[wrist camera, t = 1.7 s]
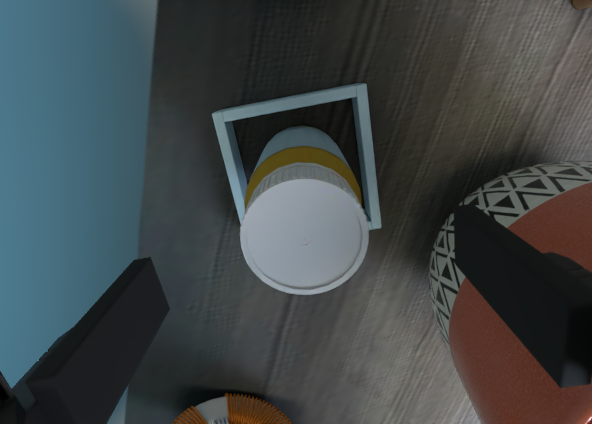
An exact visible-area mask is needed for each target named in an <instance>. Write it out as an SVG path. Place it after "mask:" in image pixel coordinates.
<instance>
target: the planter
mask: <svg viewBox="0 0 592 424" xmlns="http://www.w3.org/2000/svg"><path fill="white" fill-rule="evenodd" d="M466 204H474V205H475V206H477V207H478V208H479V209H481V210H482V211H484V212H485V213H486V214H488V215H489V216H491V217H492V218H493V219H495V220H496V221H498V222H499V223H500V224H502V225H503V226H505V227H506V228H507V229H509V230H510V231H512V232H513V233H515V234H516V235H517V236H519V237H520V238H522V239H523V240H524V241H526V242H527V243H529V244H530V245H531V246H533V247H534V248H536V249H537V250H538V251H540V252H541V253H547V252H554V253H557V254H560V255H563V256H565V257H568V258H571V259H572V260H574V261H575V262H577V263H578V264H580V265H581V266H583V268H584V269H587V270H589V271H590V272H592V161H566V162H554V163H545V164H539V165H534V166H530V167H525V168H521V169H518V170H515V171H512V172H509V173H507V174H504V175H502V176H500V177H498V178H495V179H494V180H492V181H490V182H488V183H486V184H485V185H483V186H481V187H480V188H478V189H477V190H476V191H474V192H473V193H471V194H470V195H469V196H468V197H467V198H465V199H464V200H463V201H462V202H461V203H460V204H459V205H458V206H460V205H466ZM429 289H430V297H431V303H432V308H433V312H434V316H435V320H436V323H437V325H438V328H439V331H440V334H441V336H442V339H443V341H444V343H445V345H446V348H447V350H448V352H449V354H450V357H451V359H452V361H453V363H454V366H455V368H456V370H457V372H458V375H459V377H460V379H461V381H462V384H463V386H464V388H465V390H466V392H467V394H468V396H469V398H470V401H471V403H472V405H473V407H474V409H475V411H476V413H477V415H478V418H479V420H480V422H481V424H592V377H591V384H588V385H581V386H573V387H565V388H560V387H559V386H558V385H557V384H556V382H555V381H554V380H553V379H552V378H551V376H550V375H549V374H548V373H547V372H546V371H545V369H544V368H543V367H542V366H541V365H540V364H539V362H538V361H537V360H536V359H535V358H534V357H533V355H532V354H531V353H530V352H529V351H528V349H527V348H526V347H525V346H524V345H523V344H522V342H521V341H520V340H519V339H518V338H517V337H516V335H515V334H514V333H513V332H512V331H511V330H510V328H509V327H508V326H507V325H506V324H505V322H504V321H503V320H502V319H501V318H500V317H499V315H498V314H497V313H496V312H495V311H494V310H493V308H492V307H491V306H490V305H489V304H488V303H487V301H486V300H485V299H484V298H483V297H482V295H481V294H480V293H479V292H478V291H477V290H476V288H475V287H474V286H473V285H472V284H471V283H470V281H469V280H468V279H467V278H466V277H465V275H464V274H463V273H462V272H461V271H460V270H459V268H458V267H457V266H456V265H455V248H454V211H453V212H452V213H451V214H450V216H449V217H448V219H447V220H446V221H445V223H444V225H443V226H442V228H441V230H440V232H439V234H438V236H437V238H436V241H435V243H434V246H433V250H432V253H431V258H430V266H429Z"/></svg>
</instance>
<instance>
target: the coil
mask: <svg viewBox="0 0 592 424" xmlns="http://www.w3.org/2000/svg"><path fill="white" fill-rule="evenodd" d="M250 397H251V396H250V395H249V396H248V398H247V395H245V397H243V394H241V396H239V394H237V396H236V394H233V396H232V394H228V393H226V394H225V395H224V397H220V398H215V399H211V400H209V401H206V402H204V403H201V404H199V405H197V406H195V407H194V406H191V407H190V408H187V410H186V411H184V412H183V413H182V414H180V416H178V417H177V418H176V420H174V421H173V423H172V424H292V422H290V420H289V419H287V416H284V413H281V411H280V410H279V411H278V408H276V409H275V406H272V404H269V405H268V402H266V403H265V400H263V401H262V402H261V399H259V401H258V398H257V397H256V399H254V396H253V397H252V399H250Z"/></svg>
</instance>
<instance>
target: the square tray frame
mask: <svg viewBox="0 0 592 424" xmlns="http://www.w3.org/2000/svg"><path fill="white" fill-rule="evenodd" d="M348 98H352V105H353V113H354V122H355V130H356V138H357V146H358V155H359V163H360V171H361V179H362V188H363V196H364V204H365V209H363V210H364V213H365V215H366V219H367V221H368V225H367V226H368V228H369V230H372V229H378V228H381V217H380V208H379V198H378V189H377V179H376V170H375V160H374V151H373V141H372V132H371V122H370V113H369V103H368V94H367V84H365V83H355V84H351V85H345V86H340V87H335V88H330V89H324V90H319V91H314V92H309V93H304V94H299V95H293V96H288V97H283V98H278V99H273V100H268V101H263V102H257V103H252V104H247V105H242V106H237V107H232V108H227V109H221V110H219V111H216V112H214V113H212V117H213V121H214V125H215V129H216V133H217V136H218V140H219V144H220V148H221V152H222V155H223V159H224V163H225V167H226V171H227V174H228V178H229V182H230V186H231V190H232V193H233V197H234V201H235V205H236V209H237V213H238V216H239V220H240V224H242V219H243V216H244V213H245V205H244V202H245V195H246V189H247V181H246V177H245V173H244V169H243V164H242V160H241V156H240V152H239V148H238V144H237V140H236V136H235V132H234V128H233V123H232V121H233V120H238V119H244V118H249V117H254V116H259V115H265V114H270V113H275V112H280V111H285V110H291V109H296V108H301V107H306V106H312V105H317V104H322V103H327V102H333V101H338V100H343V99H348Z"/></svg>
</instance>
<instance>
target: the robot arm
mask: <svg viewBox="0 0 592 424" xmlns="http://www.w3.org/2000/svg"><path fill="white" fill-rule="evenodd" d="M453 211H454V248H455V265H456V266H457V267H458V268H459V270H460V271H461V272H462V273H463V274H464V275H465V277H466V278H467V279H468V280H469V281H470V283H471V284H472V285H473V286H474V287H475V288H476V290H477V291H478V292H479V293H480V294H481V295H482V297H483V298H484V299H485V300H486V301H487V303H488V304H489V305H490V306H491V307H492V308H493V310H494V311H495V312H496V313H497V314H498V315H499V317H500V318H501V319H502V320H503V321H504V322H505V324H506V325H507V326H508V327H509V328H510V330H511V331H512V332H513V333H514V334H515V335H516V337H517V338H518V339H519V340H520V341H521V342H522V344H523V345H524V346H525V347H526V348H527V349H528V351H529V352H530V353H531V354H532V355H533V357H534V358H535V359H536V360H537V361H538V362H539V364H540V365H541V366H542V367H543V368H544V369H545V371H546V372H547V373H548V374H549V375H550V376H551V378H552V379H553V380H554V381H555V382H556V384H557V385H558V386H559V387H560V388H565V387H573V386H581V385H588V384H591V377H592V272H590V271H589V270H587V269H584V268H583V266H581V265H580V264H578V263H577V262H575V261H574V260H572V259H571V258H568V257H565V256H563V255H560V254H557V253H554V252H547V253H541V252H540V251H538V250H537V249H536V248H534V247H533V246H531V245H530V244H529V243H527V242H526V241H524V240H523V239H522V238H520V237H519V236H517V235H516V234H515V233H513V232H512V231H510V230H509V229H507V228H506V227H505V226H503V225H502V224H500V223H499V222H498V221H496V220H495V219H493V218H492V217H491V216H489V215H488V214H486V213H485V212H484V211H482V210H481V209H479V208H478V207H477V206H475V205H474V204H466V205H460V206H454V207H453ZM169 310H170V308H169V305H168V303H167V300H166V297H165V295H164V292H163V289H162V287H161V284H160V281H159V279H158V276H157V273H156V271H155V268H154V265H153V263H152V260H151V257H149V258H143V259H137V260H134V261H133V262H132V263H131V264H130V265H129V266H128V267H127V268H126V270H125V271H124V272H123V273H122V274H121V275H120V276H119V277H118V278H117V280H116V281H115V282H114V283H113V284H112V285H111V286H110V287H109V288H108V289H107V291H106V292H105V293H104V294H103V295H102V296H101V297H100V299H98V301H97V302H96V303H95V304H94V305H93V306H92V307H91V308H90V310H89V311H88V312H87V313H86V314H85V315H84V316H83V317H82V318H81V320H80V321H79V322H78V323H77V324H76V325H75V326H74V327H73V328H71V329H70V330H69V331H67V332H66V333H65V334H63V335H62V336H61V337H59V338H58V339H57V340H56V341H55V342H54V344H53V345H52V346H51V347H50V348H49V349H48V352H45V353H44V354H43V356H42V357H41V358H40V359H39V361H38V362H36V363H35V364H34V365H33V366H32V367H31V369H30V370H29V371H28V372H27V373H26V374H25V375H24V376H23V377H22V378H21V379H20V380H19V382H18V383H17V384H16V385H15V386H14V387H13V388H12V389H11V388H10V386H9V384H8V383H7V381H6V380H5V378H4V377H3V375H2V373H1V372H0V424H107V422H108V420H109V418H110V416H111V415H112V413H113V411H114V409H115V407H116V405H117V404H118V402H119V400H120V398H121V396H122V395H123V393H124V391H125V389H126V387H127V386H128V384H129V382H130V380H131V378H132V377H133V375H134V373H135V371H136V369H137V367H138V366H139V364H140V362H141V360H142V358H143V357H144V355H145V353H146V351H147V349H148V348H149V346H150V344H151V342H152V340H153V338H154V337H155V335H156V333H157V331H158V329H159V328H160V326H161V324H162V322H163V320H164V319H165V317H166V315H167V313H168V311H169Z"/></svg>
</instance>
